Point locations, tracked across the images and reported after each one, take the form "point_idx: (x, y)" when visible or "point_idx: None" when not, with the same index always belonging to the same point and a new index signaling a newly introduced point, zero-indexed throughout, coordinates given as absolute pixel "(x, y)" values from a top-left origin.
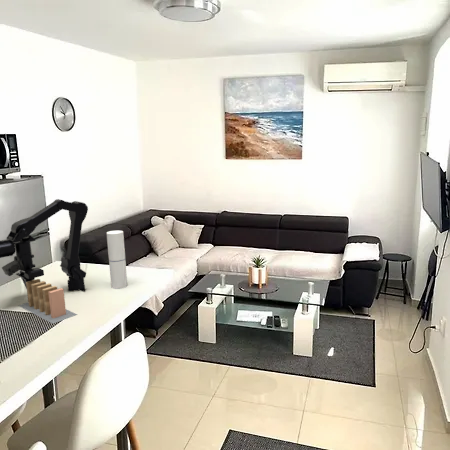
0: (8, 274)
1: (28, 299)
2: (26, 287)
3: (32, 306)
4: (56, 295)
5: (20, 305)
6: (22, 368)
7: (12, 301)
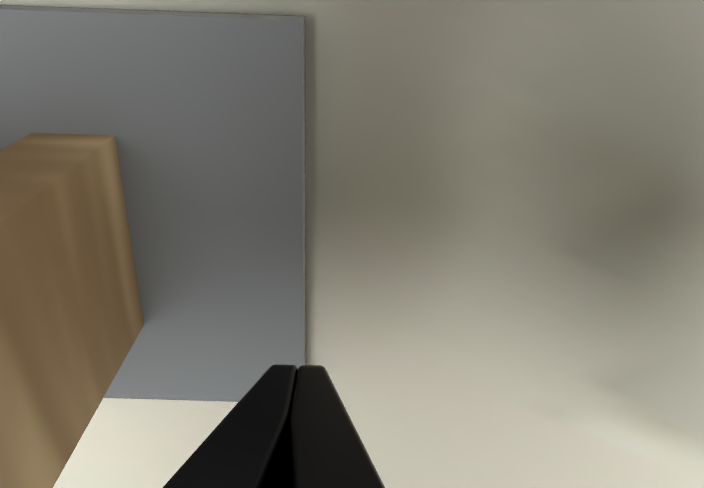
0: None
1: (38, 180)
2: (276, 405)
3: None
4: None
5: (257, 46)
6: None
7: (682, 92)
